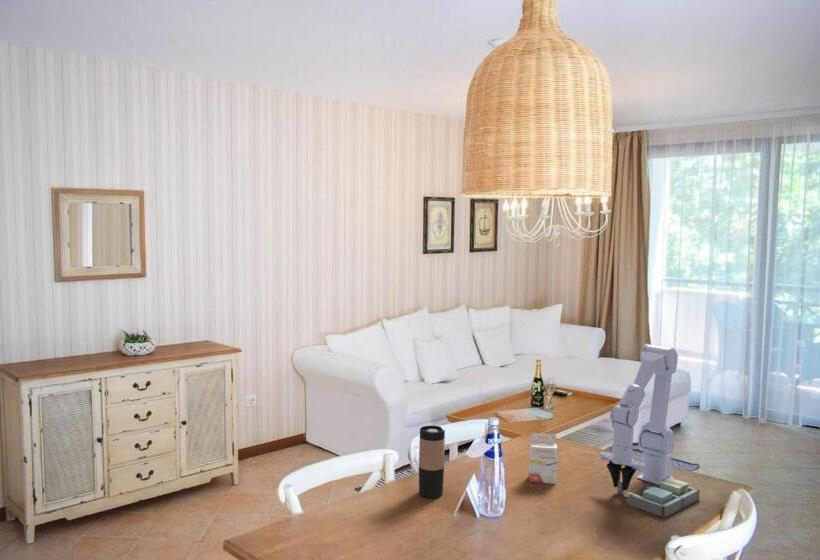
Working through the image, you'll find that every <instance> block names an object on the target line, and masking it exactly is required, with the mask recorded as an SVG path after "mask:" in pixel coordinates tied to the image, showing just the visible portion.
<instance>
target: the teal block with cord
mask: <svg viewBox="0 0 820 560" xmlns="http://www.w3.org/2000/svg"><path fill="white" fill-rule="evenodd" d="M650 487H651V488H649V489H647V490H646V489H645V490H643V491H642V496H640V495H638V494H634V493H632V492H629V491H627V490H623V489H622V480H621V479H620V480H618V486H617V487H616V488H617V489H616V494H617V495H619V496H625V495H628V496H629V495H630V494H633V495H636V496H638V497H641V498H644V499H647V500H650V501H653V502H656V503H659V504H662V505H664V504H666V503H668V502H670V501H672V495H673V493H672V492H669V491H666V490H663V489H660V487H656V486H650Z"/></svg>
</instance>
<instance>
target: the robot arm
mask: <svg viewBox="0 0 820 560" xmlns="http://www.w3.org/2000/svg"><path fill="white" fill-rule="evenodd" d="M678 356H679V355H678V352H677V350H676V349H675V348H674V347H668V346H660V345H653V344H649V343H645V344H644V345H643V347H642V348H641V351H640V355H639V359H640V365H639V369H638V371H637V373H636V376H635V379H634V380H633V382H632V384H629V385H627V387H626V389H625V391H624V392H623V395H622V397H621V399H620V401H619V403H618V404H616V405H614V406H613V407H612V409H611V411H610V413H609V418H610V421H611V428H612V429H613V439H612V453H610V452H605V451H602V452H599V460H602V461H603V460H604V461H608V463H607V464H606V467H607V470H608V471H609V473H610V475H611V481H612V485H613V487H614V488H617V486H618V480H621V479H622V489H623V490H624V491H627V490H629V487H630V484H631V480H632V478H633V477H634V475H635V474H636V471H638V472H640V473H642V474H639V475H637V476H636V479H639V480H642V481H645V482H648V483H652V484H654V485H658V486H660V482H662V481H663V479H668V478H672V479H674V476H672V463H673V462H672V460H673V459H672V456H671V453H672V452H673V449H674V445H675V442H674V431H673V430H672V429H671V428H670V427H669V426H668V424H667V416H668V409H669V402H670V393H671V386H672V380H673V379H672V377H673V374H675V373H676V372H677V369H678V368H677V367H678V360H679V359H678V358H679V357H678ZM654 374H655V376H654ZM653 376H654V384H653V390H652V395H651V396H652V398H651V405H650V414H649V419H648V420H649V421H648V422H646V423H643V424H642V425H641V428H640V430H639V431H640V432H639V434H638V436H637V443H638V446H639V448H640V449H641V452H643V453H642V454H643V457H642V462H640V461H639V460H636V459H634V458H633V444H634V443H633V442H634V426H635V425H636V424H637V422H638V420H639V415H640V414H639V413H640V406H641V405H642V403H643V401H644V398H645V397H646V392H645V388H646V387H647V385H648V384H649V382H650V380H651V379H652V377H653ZM621 476H622V477H621Z"/></svg>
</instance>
